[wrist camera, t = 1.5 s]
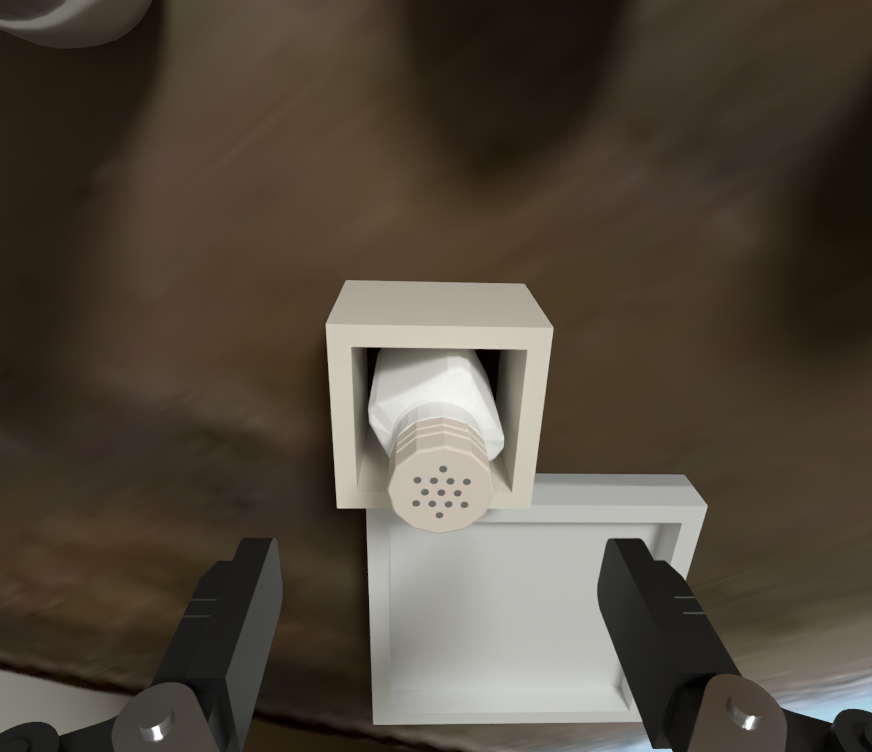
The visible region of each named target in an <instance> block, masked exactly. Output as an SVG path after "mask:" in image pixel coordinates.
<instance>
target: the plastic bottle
mask: <svg viewBox="0 0 872 752" xmlns="http://www.w3.org/2000/svg"><path fill="white" fill-rule="evenodd" d="M151 2H152V0H0V30H2V31H5V32H7V33H10V34H12V35H14V36H17V37H19V38H22V39H25V40H27V41H30V42H32V43H35V44H37V45H42V46H47V47H53V48H58V49H68V48H84V47H90V46H97V45H102V44H105V43H108V42H112V41H115V40H117V39H119V38H121V37H122V36H124V35H125V34H127V33H129V32H130V31H131V30H132V29H133V28H134V27H135V26H136V25H137V24H138V23H139V22H140V21H141V20H142V19H143V17H144V15H145V13H146V11H147V10H148V8H149V6H150V4H151Z"/></svg>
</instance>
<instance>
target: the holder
mask: <svg viewBox="0 0 872 752" xmlns="http://www.w3.org/2000/svg"><path fill="white" fill-rule="evenodd" d="M552 336H553V326H552V325H551V323H550V322H549V320H548V319H547V317H546V316H545V314H544V313H543V311H542V310H541V308H540V307H539V305H538V304H537V302H536V301H535V299H534V298H533V296H532V295H531V293H530V292H529V290H528V289H527V287H526V286H525V284H506V283H456V282H407V281H357V280H346V281H345V284H344V286H343V288H342V290H341V292H340V294H339V297H338V299H337V301H336V303H335V305H334V307H333V309H332V312H331V314H330V316H329V318H328V320H327V322H326V337H327V353H328V369H329V385H330V402H331V418H332V434H333V450H334V467H335V483H336V499H337V508H386V509H393V508H392V504H391V501H390V498H389V494H388V491H387V484H388V475H389V474H388V472H389V461H390V458H389V456H388V454H387V453H386V451H385V450H384V448H383V446H382V445H381V443H380V441H379V440H378V438H377V436H376V434H375V432H374V430H373V428H372V427H371V425H370V423H369V414H368V406H369V404H368V369H367V347H390V348H455V349H500V358H499V370H498V382H497V393H496V409H497V413H498V416H499V420H500V424H501V427H502V431H503V435H504V447H503V449H502V450H501V451H500V453H499V454H498V455H497V456H496V458H494V459H493V460H491V461H489V465H490V470H491V475H492V481H493V486H494V491H495V493H494V496H493V498H492V500H491V502H490V504H489V506H488V509H530V507H531V500H532V492H533V484H534V476H535V468H536V461H537V453H538V445H539V437H540V429H541V422H542V414H543V406H544V398H545V390H546V383H547V375H548V367H549V359H550V351H551V344H552Z"/></svg>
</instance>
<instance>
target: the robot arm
mask: <svg viewBox="0 0 872 752" xmlns="http://www.w3.org/2000/svg"><path fill="white" fill-rule="evenodd" d="M282 594H283V586H282V577H281V569H280V560H279V552H278V544H277V540H276V538H243V539H242V540H241V542H240V544H239V546H238V549H237V551H236V554H235V556H234V559H233V561H217V562H216V563H215V564H214V565H213V566H212V567H211V568H210V569H209V570H208V571H207V572H206V573H205V574H204V575H203V576H202V577H201V579H200V581H199V583H198V585H197V587H196V589H195V591H194V594H193V596H192V600H191V602H189V604H188V607H187V609H186V611H185V613H184V618H182V619H181V622H180V624H179V626H178V628H177V630H176V632H175V635H174V637H173V639H172V641H171V643H170V645H169V647H168V650H167V652H166V654H165V656H164V658H163V660H162V663H161V665H160V667H159V669H158V671H157V673H156V675H155V678H154V680H153V682H152V683H151V685H150V687H149V688H148V689H146V690H144V691H142V692H141V693H139V694H138V695H136V696H135V697H134V698H133V699H131V700H130V701H129V702H128V703H127V704H126V706H125V707H124V708H123V709H122V710H121V712H120V713H119V715H118V716H115V717H114V718H112V719H109V720H107V721H104V722H101V723H99V724H96V725H92V726H89V727H86V728H83V729H80V730H76V731H73V732H70V733H67V734H64V735H61V736H59V735H58V734H57V732H56V730H55V729H54V728H53V727H52V726H51V725H49V724H47V723H43V722H30V723H24V724H21V725H17V726H15V727H12V728H10V729H8V730H6V731H4V732H2V733H0V752H242V751H243V748H244V744H245V740H246V736H247V733H248V729H249V725H250V722H251V718H252V714H253V711H254V707H255V703H256V700H257V696H258V692H259V689H260V685H261V681H262V677H263V674H264V670H265V666H266V663H267V659H268V655H269V652H270V648H271V644H272V640H273V637H274V633H275V629H276V626H277V622H278V618H279V615H280V610H281V604H282ZM597 598H598V604H599V609H600V612H601V614H602V617H603V620H604V622H605V625H606V628H607V630H608V633H609V635H610V638H611V641H612V643H613V646H614V648H615V651H616V654H617V656H618V659H619V662H620V664H621V667H622V669H623V672H624V675H625V677H626V680H627V682H628V685H629V688H630V690H631V693H632V696H633V698H634V701H635V703H636V706H637V709H638V711H639V714H640V717H641V719H642V722H643V724H644V727H645V730H646V732H647V735H648V737H649V740H650V743H651V745H652V748H653V749H672V751H673V752H872V713H871V712H868V711H864V710H860V709H847V710H843V711H842V712H840V713H839V714H838V715H837V716H836V718H835V720H834V721H833V723H830V722H826V721H823V720H819V719H816V718H812V717H809V716H805V715H802V714H798V713H795V712H791V711H788V710H786V709H783V708H781V707H780V706H779V704H778V703H777V702H776V700H775V699H774V698H773V697H772V696H771V695H770V694H769V693H768V692H767V691H766V690H765V689H763V688H762V687H761V686H759V685H758V684H756V683H754V682H753V681H751V680H749V679H746V678H744V677H742V675H741V674H740V672H739V671H738V669H737V667H736V665H735V664H734V662H733V660H732V659H731V657H730V655H729V654H728V652H727V650H726V649H725V647H724V645H723V644H722V642H721V640H720V638H719V637H718V635H717V633H716V632H715V630H714V628H713V627H712V625H711V623H710V622H709V620H708V618H707V617H706V615H704V614H703V610H702V608H701V606H700V605H699V603H698V601H697V600H696V599H694V595H693V593H692V591H691V589H690V588H689V586H688V584H687V583H686V581H685V579H684V578H683V576H682V575H681V574H679V573H678V572H677V571H676V570H675V569H674V568H673V567H672V566H671V565H669V564H668V563H667V562H666V561H665V560H654V559H653V557H652V555H651V553H650V551H649V550H648V548H647V546H646V544H645V543H644V541H643V540H642V539H640V538H609V539H608V540H607V543H606V546H605V551H604V555H603V560H602V565H601V569H600V574H599V579H598V584H597Z"/></svg>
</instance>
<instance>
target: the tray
mask: <svg viewBox="0 0 872 752" xmlns="http://www.w3.org/2000/svg"><path fill="white" fill-rule="evenodd" d="M707 507H708V506H707V504H706V503H705V502H704V500H703V499H702V498H701V496H700V495H699V494H698V492H697V491H696V490H695V488H694V487H693V486H692V484H691V483H690V482H689V481H688V479H687V478H686V477H685V475H663V474H535V476H534V484H533V492H532V500H531V507H530V509H487V511H486V513H485V515H483V516H482V517H481V518H479V519H478V520H476V521H475V522H473V523H472V524H471V525H469V526H468V527H466V528H465V529H462V530H456V531H451V532H445V533H440V534H437V533H433V532H428V531H424V530H420V529H416V528H412V527H411V526H410V525H409V524H408V523H407V522H405V521H404V520H403V519H402V518H401V517H399V516H398V515H397V514H396V513H395V512H394V511H393V509H386V508H366V521H367V551H368V581H369V611H370V642H371V672H372V702H373V725H397V724H486V723H575V722H642V719H641V717H640V714H639V711H638V709H637V706H636V703H635V701H634V698H633V696H632V693H631V690H630V688H629V685H628V682H627V680H626V677H625V675H624V672H623V669H622V667H621V664H620V662H619V659H618V656H617V654H616V651H615V648H614V646H613V643H612V641H611V638H610V635H609V633H608V630H607V628H606V625H605V622H604V620H603V617H602V614H601V612H600V609H599V604H598V598H597V584H598V579H599V574H600V569H601V565H602V560H603V555H604V551H605V546H606V543H607V540H608V539H609V538H640V539H642V540H643V541H644V543H645V544H646V546H647V548H648V550H649V551H650V553H651V555H652V557H653V559H654V560H665V561H666V562H667V563H668V564H669V565H671V566H672V567H673V568H674V569H675V570H676V571H677V572H678V573H679V574H681V575H682V576H683V578H684V579H685V580H686V577H687V573H688V570H689V567H690V563H691V560H692V557H693V553H694V550H695V547H696V543H697V540H698V537H699V533H700V530H701V527H702V524H703V520H704V517H705V514H706V510H707Z"/></svg>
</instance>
